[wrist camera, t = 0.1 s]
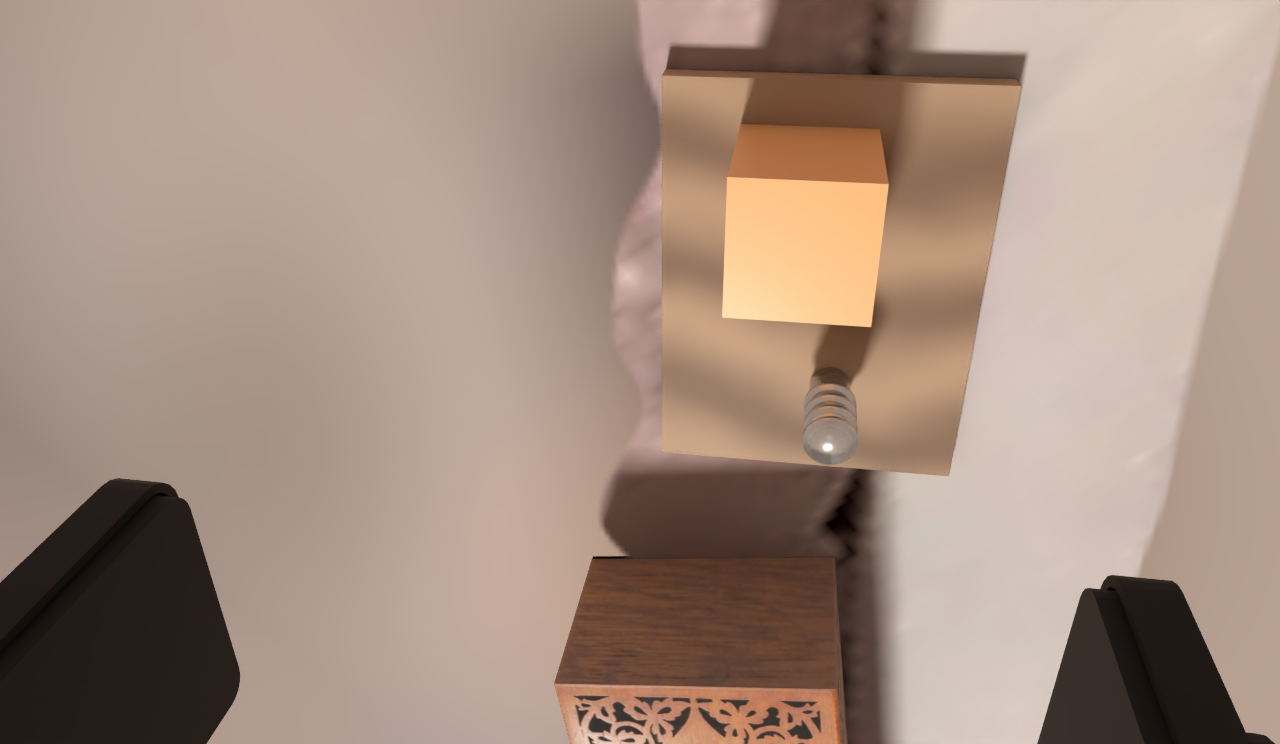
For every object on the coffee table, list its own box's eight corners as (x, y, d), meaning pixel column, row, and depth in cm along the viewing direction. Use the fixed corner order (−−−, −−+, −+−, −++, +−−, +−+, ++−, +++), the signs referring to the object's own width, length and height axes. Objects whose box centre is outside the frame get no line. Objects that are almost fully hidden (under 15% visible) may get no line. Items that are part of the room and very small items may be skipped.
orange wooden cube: (740, 124, 43) (727, 177, 37) (879, 129, 42) (888, 184, 36) (735, 249, 46) (721, 317, 40) (864, 256, 45) (871, 327, 39)
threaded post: (806, 361, 48) (804, 421, 44) (857, 364, 48) (861, 426, 43) (802, 403, 50) (800, 466, 45) (852, 407, 49) (855, 471, 45)
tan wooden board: (665, 69, 44) (662, 75, 43) (1016, 78, 41) (1021, 86, 40) (664, 439, 54) (661, 451, 53) (946, 462, 52) (948, 476, 51)
